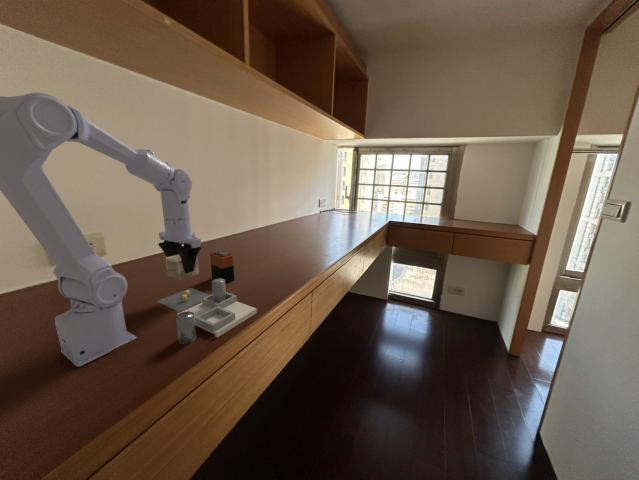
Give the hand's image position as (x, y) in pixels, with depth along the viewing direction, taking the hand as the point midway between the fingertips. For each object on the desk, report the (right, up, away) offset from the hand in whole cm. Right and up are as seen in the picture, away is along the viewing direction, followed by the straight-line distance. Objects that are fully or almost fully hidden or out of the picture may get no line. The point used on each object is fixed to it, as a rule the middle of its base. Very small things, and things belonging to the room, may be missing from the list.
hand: (182, 269), depth 67 cm
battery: (+5, -6, +16) cm, 17 cm away
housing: (0, -1, +1) cm, 2 cm away
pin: (+9, -13, -15) cm, 22 cm away
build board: (+11, -11, -5) cm, 16 cm away
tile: (0, -9, +2) cm, 9 cm away
